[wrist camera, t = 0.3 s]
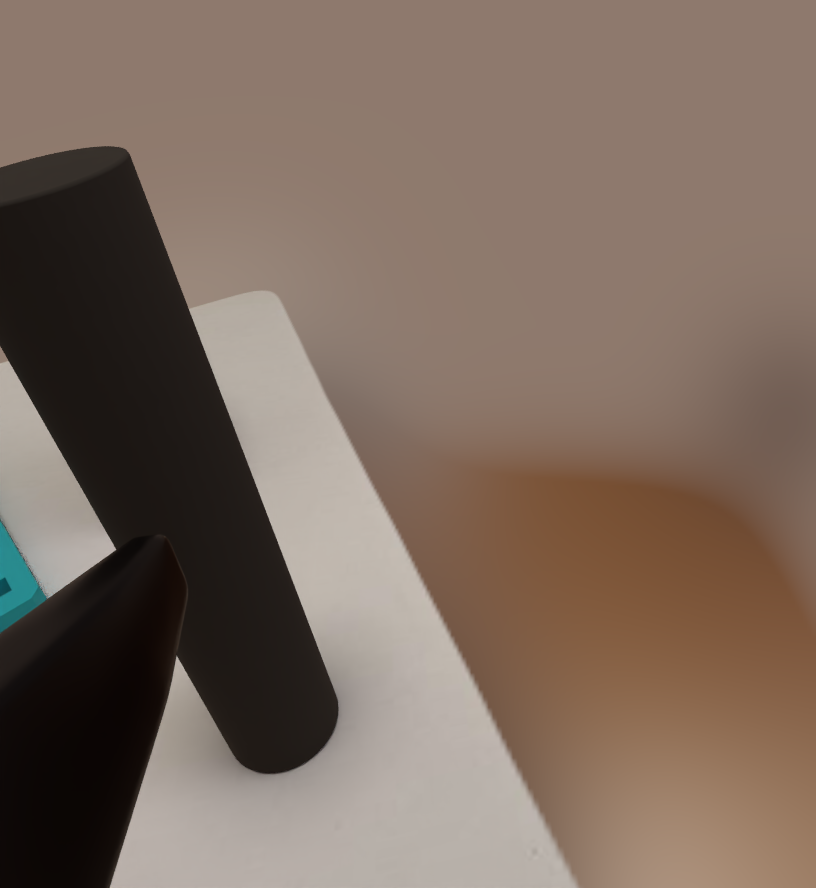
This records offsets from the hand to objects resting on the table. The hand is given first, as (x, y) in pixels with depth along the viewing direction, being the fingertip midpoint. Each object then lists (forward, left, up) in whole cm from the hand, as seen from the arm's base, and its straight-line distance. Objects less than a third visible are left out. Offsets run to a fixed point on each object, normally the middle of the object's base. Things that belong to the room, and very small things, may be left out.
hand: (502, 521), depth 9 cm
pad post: (+8, +9, -17) cm, 20 cm away
